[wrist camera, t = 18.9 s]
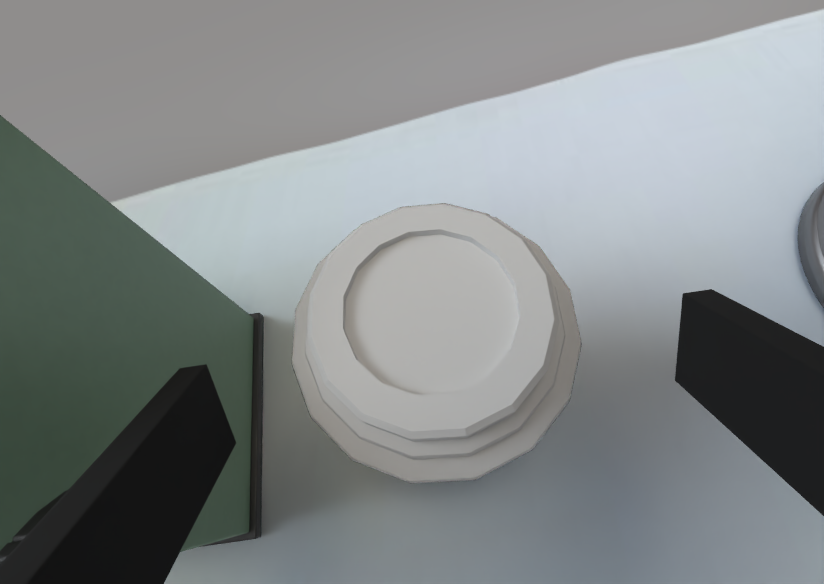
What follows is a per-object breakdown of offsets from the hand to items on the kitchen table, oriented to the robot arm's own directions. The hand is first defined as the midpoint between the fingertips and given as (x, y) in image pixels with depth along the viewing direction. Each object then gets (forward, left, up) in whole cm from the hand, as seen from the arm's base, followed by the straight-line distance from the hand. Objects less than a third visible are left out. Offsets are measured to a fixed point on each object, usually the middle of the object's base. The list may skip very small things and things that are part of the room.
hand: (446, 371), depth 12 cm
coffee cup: (+2, -1, -11) cm, 11 cm away
